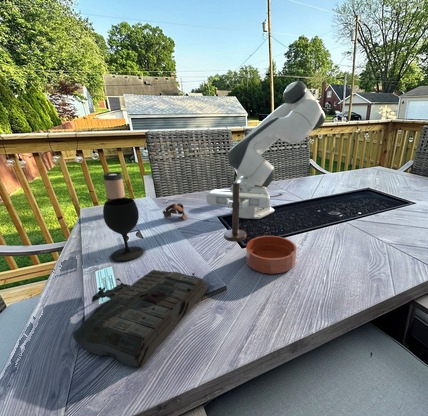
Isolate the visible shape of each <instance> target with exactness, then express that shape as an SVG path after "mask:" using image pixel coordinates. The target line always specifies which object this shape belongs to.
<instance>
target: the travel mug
mask: <svg viewBox="0 0 428 416" xmlns="http://www.w3.org/2000/svg"><path fill="white" fill-rule="evenodd" d="M103 181H104V188H105V194H106V201H108V200H111V199H116V198H126V191H125V187H124V181H123V174H122V172H119V171H118V172H117V171H113V172H112V171H111V172H105V173H103Z"/></svg>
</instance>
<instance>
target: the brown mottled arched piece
mask: <svg viewBox="0 0 428 416" xmlns="http://www.w3.org/2000/svg"><path fill="white" fill-rule="evenodd" d="M162 214H163V218H164V219H168V218H172V214H173V215H177V214H178V215H181V219H182V221H185V220H186V218H187V216H186V212H185V211H184V205H183V204H182V203H179V202H178V203H177V204H176V203H172V204H170V205H167V207H166V208H164V210H163V211H162Z"/></svg>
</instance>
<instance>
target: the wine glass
mask: <svg viewBox="0 0 428 416" xmlns="http://www.w3.org/2000/svg"><path fill="white" fill-rule="evenodd" d="M102 217H103V221H104V223H105V225H106V226H107V228H108V229H110V231H112V232H115V233H116V234H118V235H119V234H120V235H121V236H122V239H123V243H124V247H122V248H119V249H116V250H115V251H114V252H112V253H111V255H110V259H111V260H112V261H114V262H119V263H125V262H130V261H134V260H136V259H138V258H140V257H142V255H143V254H144V249H143V248H142V247H140V246H129V243H128V234H129V233H130V232H132V231H133V230H134V229H135V228H136V226H137V225H138V222H139V217H140V215H139V209H138V206H137V203H136V201H135V199H133V198H131V197H125V198H116V199H111V200H106V201H104V203H103V209H102Z"/></svg>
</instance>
